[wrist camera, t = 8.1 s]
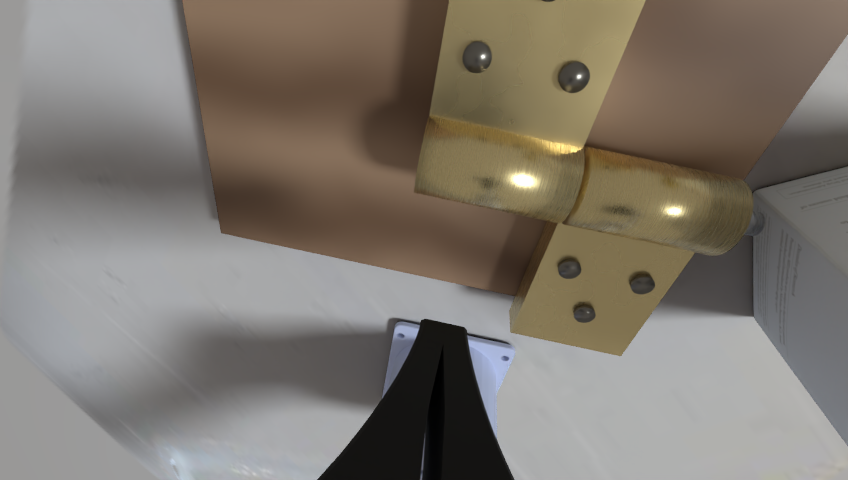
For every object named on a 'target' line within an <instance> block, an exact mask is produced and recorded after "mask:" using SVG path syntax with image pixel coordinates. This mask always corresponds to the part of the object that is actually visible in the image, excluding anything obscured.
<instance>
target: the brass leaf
mask: <svg viewBox="0 0 848 480" xmlns="http://www.w3.org/2000/svg"><path fill="white" fill-rule="evenodd" d="M645 1H646V0H449V4H448V10H447V16H446V21H445V27H444V33H443V39H442V44H441V50H440V56H439V62H438V67H437V73H436V79H435V85H434V91H433V96H432V102H431V108H430V114H429V118H428V121H427V125H426V128H425V133H424V137H423V141H422V146H421V151H420V156H419V161H418V166H417V172H416V179H415V186H414V193H417V194H422V195H427V196H431V197H436V198H441V199H446V200H450V201H455V202H460V203H464V204H469V205H474V206H479V207H483V208H488V209H493V210H497V211H502V212H507V213H512V214H516V215H521V216H526V217H530V218H535V219H540V220H545V221H549V222H554V223H562V222H563V221H564V220H565V219H566V218H567V216H568V215H569V213H570V212H571V210H572V208H573V206H574V203H575V201H576V199H577V196H578V193H579V190H580V186H581V183H582V178H583V173H584V164H585V154H584V150H583V147H584V145H585V142H586V140H587V138H588V135H589V133H590V130H591V128H592V126H593V123H594V121H595V119H596V116H597V114H598V112H599V109H600V107H601V105H602V102H603V100H604V97H605V95H606V93H607V90H608V88H609V86H610V83H611V81H612V79H613V76H614V74H615V72H616V69H617V67H618V64H619V62H620V60H621V57H622V55H623V53H624V50H625V48H626V46H627V43H628V41H629V38H630V36H631V34H632V31H633V29H634V27H635V24H636V22H637V20H638V17H639V15H640V13H641V10H642V8H643V5H644V3H645Z"/></svg>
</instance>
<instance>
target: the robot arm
mask: <svg viewBox="0 0 848 480" xmlns="http://www.w3.org/2000/svg"><path fill="white" fill-rule="evenodd" d="M400 333H402V334H400ZM514 355H515V348H514V347H513V346H512V345H509V344H504V343H500V342H495V341H490V340H486V339H481V338H477V337H472V336H467V330H466V329H465V327H461V326H456V325H452V324H447V323H442V322H438V321H433V320H429V319H424V320H421V323H420V325H417V324H412V323H407V322H397V323H396V325H395V328H394V333H393V339H392V345H391V350H390V356H389V361H388V367H387V373H386V378H385V384H384V389H383V395H382V400H381V401H380V403H379V404H378V406H377V407H376V408H375V410H374V411H373V413H372V414H371V415H370V417H369V418H368V420H367V421H366V422H365V424H364V425H363V426H362V428H361V429H360V430H359V431H358V433H357V434H356V435H355V436H354V438H353V439H352V440H351V441H350V443H349V444H348V445H347V446H346V448H345V449H344V450H343V451H342V452H341V454H340V455H339V456H338V457H337V458H336V459H335V461H334V462H333V463H332V464H331V465H330V466H329V467H328V468H327V469H326V471H325V472H324V473H323V474H322V475H321V476H320V477H319V478H318V479H317V480H514V478H513V476H512V474H511V472H510V469H509V467H508V465H507V463H506V461H505V458H504V456H503V454H502V451H501V449H500V446H499V444H498V442H497V395H496V394H497V392H498V390H499V387H500V385H501V383H502V381H503V379H504V377H505V375H506V372H507V370H508V368H509V366H510V364H511V362H512V360H513V358H514Z"/></svg>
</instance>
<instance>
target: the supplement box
mask: <svg viewBox="0 0 848 480" xmlns="http://www.w3.org/2000/svg"><path fill="white" fill-rule="evenodd" d="M753 211H757V212H761V213H763V214H764V216H765V219H766V223H765V226H764V229H763V230H762V231H761V233H759V234H758V235H756V236H753V307H754V318H755V320H756V321H757V323H758V324H759V326H760V327H761V328H762V330H763V331H764V332H765V334H766V335H767V337H768V338H769V339H770V341H771V342H772V343H773V345H774V346H775V348H776V349H777V350H778V352H779V353H780V354H781V356H782V357H783V359H784V360H785V361H786V363H787V364H788V365H789V367H790V368H791V370H792V371H793V372H794V374H795V375H796V376H797V378H798V379H799V380H800V382H801V383H802V385H803V386H804V387H805V389H806V390H807V391H808V393H809V394H810V395H811V397H812V398H813V400H814V401H815V402H816V404H817V405H818V406H819V408H820V409H821V410H822V412H823V413H824V414H825V416H826V417H827V419H828V420H829V421H830V423H831V424H832V425H833V427H834V428H835V429H836V431H837V432H838V434H839V435H840V436H841V438H842V439H843V440H844V442H845V443H846V444H847V446H848V167H844V168H840V169H836V170H832V171H828V172H824V173H820V174H816V175H813V176H809V177H805V178H801V179H797V180H793V181H789V182H785V183H781V184H777V185H774V186H770V187H766V188H762V189H759V190H756V191H755V192H754V193H753Z"/></svg>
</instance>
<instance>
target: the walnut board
mask: <svg viewBox="0 0 848 480" xmlns="http://www.w3.org/2000/svg"><path fill="white" fill-rule="evenodd" d="M182 2H183V8H184V14H185V20H186V26H187V32H188V38H189V44H190V50H191V56H192V62H193V68H194V74H195V80H196V86H197V92H198V98H199V104H200V110H201V116H202V122H203V128H204V134H205V140H206V146H207V152H208V158H209V164H210V170H211V176H212V182H213V188H214V194H215V200H216V206H217V212H218V218H219V224H220V230H221V233H223V234H228V235H233V236H237V237H242V238H247V239H251V240H256V241H261V242H265V243H270V244H275V245H279V246H284V247H289V248H293V249H298V250H303V251H307V252H312V253H317V254H321V255H326V256H331V257H335V258H340V259H344V260H349V261H354V262H358V263H363V264H368V265H372V266H377V267H382V268H386V269H391V270H396V271H400V272H405V273H410V274H414V275H419V276H424V277H428V278H433V279H438V280H442V281H447V282H452V283H456V284H461V285H466V286H470V287H475V288H480V289H484V290H489V291H493V292H498V293H503V294H507V295H512V296H516V294H517V291H518V289H519V286H520V284H521V282H522V279H523V277H524V274H525V272H526V270H527V267H528V265H529V262H530V260H531V257H532V255H533V253H534V250H535V248H536V245H537V243H538V241H539V238H540V236H541V233H542V231H543V228H544V226H545V224H546V221H545V220H540V219H535V218H530V217H526V216H521V215H516V214H512V213H507V212H502V211H497V210H493V209H488V208H483V207H479V206H474V205H469V204H464V203H460V202H455V201H450V200H446V199H441V198H436V197H431V196H427V195H422V194H417V193H414V186H415V179H416V172H417V166H418V161H419V156H420V151H421V146H422V141H423V137H424V133H425V128H426V125H427V121H428V118H429V114H430V108H431V102H432V96H433V91H434V85H435V79H436V73H437V67H438V62H439V56H440V50H441V44H442V39H443V33H444V27H445V21H446V16H447V10H448V4H449V0H182ZM847 35H848V0H646V1H645V3H644V5H643V8H642V10H641V13H640V15H639V17H638V20H637V22H636V24H635V27H634V29H633V31H632V34H631V36H630V38H629V41H628V43H627V46H626V48H625V50H624V53H623V55H622V57H621V60H620V62H619V64H618V67H617V69H616V72H615V74H614V76H613V79H612V81H611V83H610V86H609V88H608V90H607V93H606V95H605V97H604V100H603V102H602V105H601V107H600V109H599V112H598V114H597V116H596V119H595V121H594V123H593V126H592V128H591V130H590V133H589V135H588V138H587V140H586V142H585V145H584V147H585V146H587V147H591V148H596V149H601V150H606V151H610V152H615V153H620V154H625V155H630V156H634V157H639V158H644V159H649V160H653V161H658V162H663V163H668V164H673V165H677V166H682V167H687V168H692V169H696V170H701V171H706V172H711V173H716V174H720V175H725V176H730V177H735V178H739V179H742V180H743V181H744V179H745V178H746V176H747V175H748V174H749V172H750V171H751V169H752V168H753V167H754V165H755V164H756V162H757V161H758V160H759V158H760V157H761V155H762V154H763V153H764V151H765V150H766V148H767V147H768V146H769V144H770V143H771V141H772V140H773V138H774V137H775V136H776V134H777V133H778V131H779V130H780V129H781V127H782V126H783V124H784V123H785V122H786V120H787V119H788V117H789V116H790V115H791V113H792V112H793V110H794V109H795V108H796V106H797V105H798V103H799V102H800V101H801V99H802V98H803V96H804V95H805V94H806V92H807V91H808V89H809V88H810V87H811V85H812V84H813V82H814V81H815V80H816V78H817V77H818V75H819V74H820V73H821V71H822V70H823V68H824V67H825V66H826V64H827V63H828V61H829V60H830V58H831V57H832V56H833V54H834V53H835V51H836V50H837V49H838V47H839V46H840V44H841V43H842V42H843V40H844V39H845V37H846V36H847Z"/></svg>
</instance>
